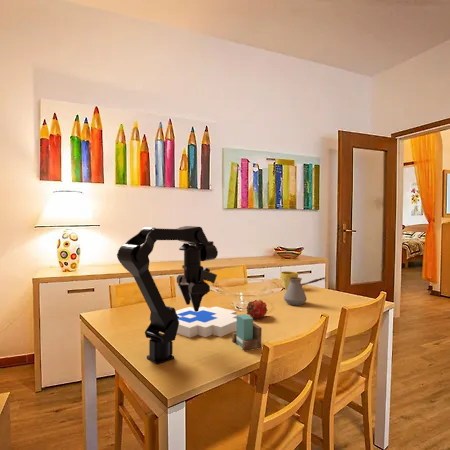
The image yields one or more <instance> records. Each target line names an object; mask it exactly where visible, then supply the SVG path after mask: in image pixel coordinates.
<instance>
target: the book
mask: <svg viewBox="0 0 450 450" xmlns="http://www.w3.org/2000/svg"><path fill="white" fill-rule="evenodd" d="M236 315H237V330H236V332H237V336H236V342H235V343H236V344H237V345H238V346H239V345H240V346H239V347H240V348H242V349H243V341H246V340H252V339H253V323H254V319H253V318H252V317H250V315H248V314H247V313H244V314H243V313H242V314H236Z"/></svg>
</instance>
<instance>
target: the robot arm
mask: <svg viewBox="0 0 450 450" xmlns="http://www.w3.org/2000/svg"><path fill="white" fill-rule="evenodd" d="M157 241H179V242H182V243H183V244H182V245H181V246H180V247H179V248H178V250H179V251H183V264H182V266H181V267H182V269H183V274H179V275H177V276H176V283H177V286H178V288H179V290H180V293H181V295H182V297H183V300H184V302H185V305H188V306H189V305H192V307H193V308H194V311H195V312H198V310H199V307H201V303H202V300H203V297H204V296H205V295H207V294H208V293H210V291H211V286H210V285H209V284H208V283H207V282H209V283H210V282H211V284H215V283H216V279H217V277H218V274H216V273H213V272H211V271H210V270H211V269H210V268H208V267H203V266H202V264H201V263H202V262H206V261H211V260H215V259H217V258H218V254H219V252H218V248H217V246H215V244H214V241H211V240H208V238H207V236H206V234H205V231H204V230H203V227H201V226H196V225H195V226H192V225H186V226H185V225H184V226H181V227H178V228H159V227H158V228H156V227H143V228H141V230H140V231H139V232H138V233H137V234H134V236H132V237H131V238H130V239H128V240H127V241H126V243H124V244H123V245H121V246H120V247H119V248H118V250H117V254H116V256H117V259H118V262H119V263H120V264H121V266H122V267H123V268H124V269H125V270H126V271H128V272H129V273H130V274H131V275H132V276H133V279H134V281H135V283H136V284H137V287H138V289H139V290H140V292H141V293H140V294H141V295H142V296H143V299H144V301H145V303H146V305H147V306H148V309H149V310H150V315H149V321H150V323H149V325H148V326H147V328H146V330H145V331H144V335H145V338H147V339H149V340H148V344H149V346H148V347H149V348H148V349H149V353H148V354H149V355H146V359H147V360H150V361H151V362H153V363H154V364H162V363H165V362H168V361H171V360H173V359H175V355H173V348H174V345H173V343H174V342H173V341H175V340H176V338H177V335H178V334H177V330H178V326H179V320H178V318H179V317H178V316H177V314H176V311H177V310H176V309H175V307H173V306H172V307H171V306H169V305H166V304H165V301H164V299H163V297H162V295H161V293H160V291H159V289H158V286H157V284H156V282H155V280H154V278H153V275H152V274H151V271H150V269H149V267H150V258H149V256H150V254H151V253H152V252H153V249H154V248H155V244H156V242H157Z"/></svg>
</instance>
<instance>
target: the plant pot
mask: <svg viewBox="0 0 450 450" xmlns="http://www.w3.org/2000/svg"><path fill="white" fill-rule="evenodd" d="M290 277H298V278H299V272H296V271H289V270H286V271H285V270H283V271H280V279H281V283H282V284H281V285H282V288H283V287H284V288H285V289H284V290H286V291H287V288H288V286H289V284H290V279H289V278H290Z"/></svg>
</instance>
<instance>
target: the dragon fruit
mask: <svg viewBox="0 0 450 450" xmlns="http://www.w3.org/2000/svg"><path fill="white" fill-rule="evenodd" d="M268 310H269V309H268V308H267V303H266V302H264V301H263V300H262V299H259V300H258V299H256V300H253V301H249V302H248V303H247V306H246V315H248V316H250V317H252V318H253V320H255V319H257V318H258V319H261V320H262V319H263V318H265V315H266V314H267V312H268Z"/></svg>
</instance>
